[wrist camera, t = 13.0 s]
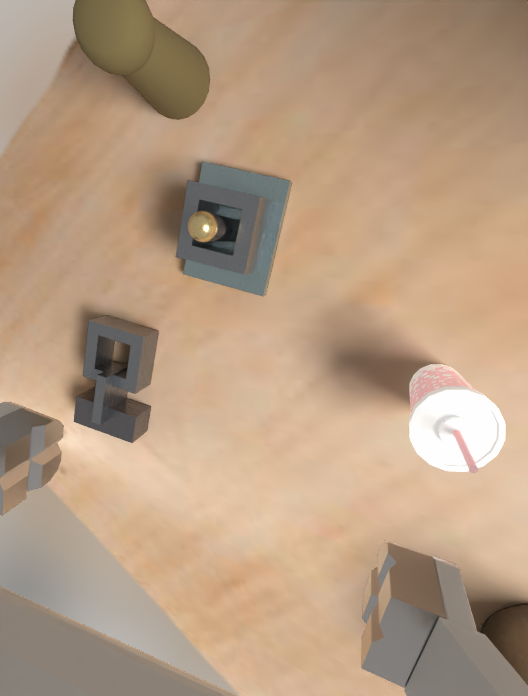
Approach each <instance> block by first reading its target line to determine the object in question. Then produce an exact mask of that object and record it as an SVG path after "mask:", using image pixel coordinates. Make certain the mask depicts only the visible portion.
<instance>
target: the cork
mask: <svg viewBox="0 0 528 696" xmlns="http://www.w3.org/2000/svg"><path fill="white" fill-rule="evenodd" d="M73 24H74V29H75V34H76V38H77V40H78V42H79V44H80V47H81V49H82V50H83V52H84V53H85V54H86V55H87V56H88V58H89V59H90V60H91V61H92V62H93V63H94V64H95V65H96V66H98V67H100V68H101V69H103V70H105V71H106V72H108V73H112V74H117V75H122V76H123V77H124V78H125V79H126V80H127V81H128V82H129V83H130V84H131V85H132V86H133V87H134V88H135V89H136V90H137V91H138V92H139V93H140V94H141V95H142V96H143V97H144V98H145V99H146V100H147V101H148V102H149V103H150V104H151V105H152V106H153V107H154V108H155V109H156V110H157V111H158V112H159V113H160V114H162V115H164V116H166V117H167V118H171V119H177V120H178V119H183V118H188V117H189V116H191V115H192V114H194V113H195V112H197V111H198V109H199V108H200V107H201V106H202V104H203V103H204V101H205V99H206V96H207V94H208V91H209V84H210V75H209V67H208V65H207V62H206V60H205V57H204V56H203V54H202V53H201V52H200V51H199V50H198V49H197V47H195V46H194V45H192V44H191V43H189V42H188V41H187V40H185V39H184V38H182V37H181V36H179V35H178V34H177V33H175V32H174V31H172V30H171V29H170V28H168V27H167V26H165V25H164V24H162V23H161V22H160V21H158V20H157V19H155V18H154V17H153V16H152V14H151V11H150V9H149V7H148V5H147V2H146V0H76V1H75V5H74V9H73Z"/></svg>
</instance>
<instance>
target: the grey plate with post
mask: <svg viewBox="0 0 528 696" xmlns="http://www.w3.org/2000/svg"><path fill="white" fill-rule="evenodd" d="M199 183H203V184H208V185H212V186H217V187H221V188H226V189H230V190H235V191H239V192H244V193H248V194H253V195H257V196H261V197H263V198H266V199H268V200H270V201H272V202H274V204H273V208H272V213H271V217H270V222H269V227H268V231H267V236H266V240H265V245H264V250H263V254H262V259H261V264H260V268H259V271H258V272H254V273H250V274H245V275H244V274H240V273H236V272H232V271H228V270H224V269H220V268H217V267H213V266H209V265H205V264H201V263H197V262H193V261H190V260H186V261H185V267H184V272H183V274H185V275H188V276H192V277H195V278H199V279H203V280H206V281H210V282H213V283H217V284H221V285H224V286H228V287H231V288H235V289H239V290H242V291H246V292H249V293H253V294H257V295H260V296H265V295H266V292H267V288H268V284H269V279H270V275H271V271H272V267H273V262H274V258H275V254H276V250H277V245H278V241H279V237H280V233H281V228H282V224H283V220H284V215H285V211H286V207H287V203H288V198H289V194H290V190H291V186H292V182H291V181H288V180H283V179H279V178H274V177H270V176H265V175H261V174H256V173H252V172H247V171H243V170H238V169H234V168H229V167H225V166H220V165H216V164H211V163H207V162H202V168H201V173H200V179H199ZM241 213H242V210H240V209H235V208H231V207H227V206H222V205H219V209H218V215H214V214H211V213H209V212H206V211H199V212H196V213H194V214H193V215H192V216H191V217H190V219H189V222H188V230H189V233H190V235H191V236H192V237H193V238H194V239H195V240H197V241H199V242H209V241H213V242H212V246H215V247H219V248H223V249H227V250H231V251H234V249H235V244H236V239H237V234H238V229H239V224H240V219H241Z"/></svg>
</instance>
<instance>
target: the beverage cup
mask: <svg viewBox="0 0 528 696" xmlns="http://www.w3.org/2000/svg"><path fill="white" fill-rule="evenodd" d="M409 394H410V406H411V415H410V417H409V438H410V440H411V442H412V444H413V446H414V448H415V450H416V452H417V454H418V455H419V456H420V457H422V458H423V459H424V460H425V461H426V462H427V463H429V464H430V465H432V466H435V467H437V468H440V469H443V470H445V471H457V472H466V471H470V472H471V473H476V472H478V468H479V467H483V466H484V465H485V464H487V463H488V462H489V461H491V460H492V459H493V458H494V457H496V456H497V455H498V453H499V451H500V449H501V447H502V445H503V443H504V442H505V428H506V423H505V421H504V419H503V417H502V415H501V413H500V411H499V408H498V407H497V406H496V405H495V404H494V403H493V402H492V401H491V400H489V399H488V398H487V397H486V396H485V395H484V394H482V393H481V392H479V391H476V390H475V389H474V388H473V387H472V386H471V385H470V384H469V383H468V382H467V381H466V380H465V379H464V378H463V377H462V376H461V375H460V374H459V373H458V372H456V371H455V370H454V369H453V368H452V367H449V366H446V365H443V364H430V365H427V366H425V367H423V368H420V369H419V370H418V371H417V372H416V373H415V374H414V375H413V377H412V379H411V381H410V384H409Z"/></svg>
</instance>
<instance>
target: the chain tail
mask: <svg viewBox="0 0 528 696" xmlns="http://www.w3.org/2000/svg"><path fill="white" fill-rule="evenodd" d="M158 334H159V331H157V330H154V329H150V328H147V327H144V326H141V325H137V324H134V323H131V322H128V321H124V320H121V319H118V318H115V317H111V316H108V315H106V316H103V317H99V318H95V319H91V320H89V324H88V333H87V342H86V352H85V361H84V370H83V376H84V377H87V378H90V379H93V380H96V387H94V388H92V389H90V390H88V391H86V392H84V393H82V394H80V395H78V396H76V405H75V415H74V422H76V423H79V424H81V425H84V426H87V427H90V428H92V429H95V430H98V431H100V432H103V433H106V434H109V435H111V436H114V437H117V438H120V439H122V440H125V441H128V442H131V443H133V442H134V441H135V440H137V439H138V438H139V437H140V436H141V435H143V434H144V433H145V432H146V431H147V429H148V423H149V417H150V411H151V406H148V405H145V404H142V403H139V402H137V401H134V400H131V399H128V398H127V392H131V393H134V394H136V393H137V392H139V391H140V390H142V389H144V388H145V387H147V386H148V385H150V383H151V377H152V371H153V365H154V359H155V352H156V346H157V340H158ZM115 341H118V342H122V343H125V344H128V345H131V347H130V354H129V361H128V364H126V363H121V364H120V363H117V362H114V361H112V358H113V350H114V342H115Z"/></svg>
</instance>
